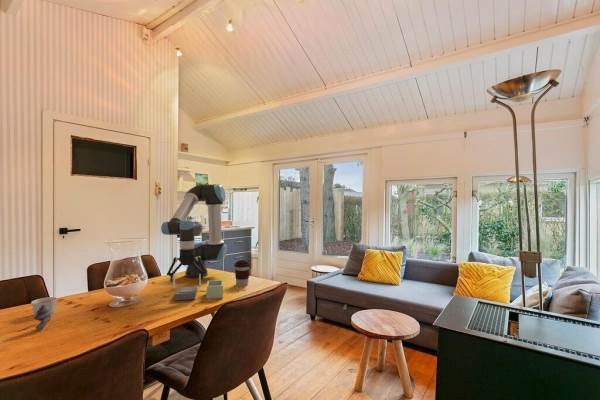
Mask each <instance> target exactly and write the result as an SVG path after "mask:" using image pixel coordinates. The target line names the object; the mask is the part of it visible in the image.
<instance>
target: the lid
mask: <svg viewBox="0 0 600 400" xmlns="http://www.w3.org/2000/svg"><path fill="white" fill-rule="evenodd" d="M197 293H198V286H197V285H195V286H182V287H177V290H176V291H175V293H174V301H192V300H195V299H196V297H197Z"/></svg>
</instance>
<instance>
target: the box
mask: <svg viewBox="0 0 600 400" xmlns="http://www.w3.org/2000/svg"><path fill="white" fill-rule="evenodd" d="M220 299H222V300H223V299H224V280H223V279H219V280H218V279H217V280H207V283H206V301H207V300H220Z"/></svg>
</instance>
